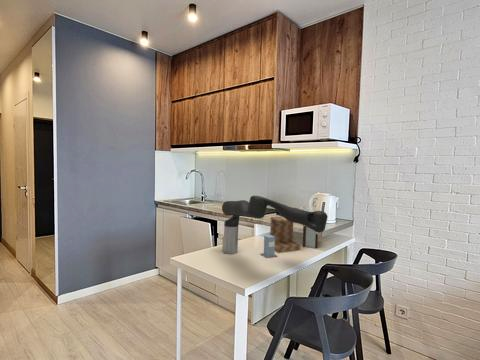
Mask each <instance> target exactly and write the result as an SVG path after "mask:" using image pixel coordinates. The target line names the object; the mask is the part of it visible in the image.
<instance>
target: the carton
mask: <svg viewBox="0 0 480 360" xmlns="http://www.w3.org/2000/svg"><path fill="white" fill-rule="evenodd" d="M263 237H264V238H263V253H264V255H266V256H274V255H276V251H275V237H274V236H272V235H270V234H266V235H265V234H264V236H263Z"/></svg>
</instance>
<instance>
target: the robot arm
mask: <svg viewBox="0 0 480 360" xmlns="http://www.w3.org/2000/svg"><path fill="white" fill-rule="evenodd" d="M268 206H269V207H271V208H274V209H275V210H274V213H275V215H276V216H278V217H284V218H285V219H287V220H288V221H291V222H293V224H294V223H295V224H298V225H301V226H303V225H304V226H307V227H309V228H310V229H312V230H314V231H316V232H318V234H319V233H323V232H325V229H326V226H327V221H328V214H327V213H326V212H325V211H322V210H314V211H309V210H304V209H302V208H298V207H293V206H292V207H291V206H288V205H286V204H284V203H281V202H277V201H275V200H272V199H269V198H268V197H263V196H259V195H251V196H250V197H249V200H243V199H241V200H227V201H226V200H225V201H224V202H223V203H222V204H221V211H222V213H223V215H225V216H231V217H230V218H228V219H226V220H225V221H224V227H223V236H222V244H221V246H222V249H221V251H222V252H223V253H224V254H227V255H228V254H231V255H232V254H237V253H238V252H239V251H238V249H239V248H238V247H239V223H240V217H248V218H251V219H263V218H264V217H265V215H266V212H267V208H268Z"/></svg>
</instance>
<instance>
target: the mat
mask: <svg viewBox="0 0 480 360" xmlns="http://www.w3.org/2000/svg"><path fill="white" fill-rule="evenodd" d="M260 255H261V256H262V257H264V258H265V259H272V258H278V255H276V254H275V255H274V256H266V255H264V252H262V253H260Z"/></svg>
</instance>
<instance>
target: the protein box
mask: <svg viewBox="0 0 480 360" xmlns="http://www.w3.org/2000/svg"><path fill="white" fill-rule="evenodd" d="M302 226H303V227H302V247H303V248H310V247H311V249H318V243H319V234H318V235H317V234H315V232H316V231H314V230H312V229H310V228H309V227H307V226H304V225H302Z"/></svg>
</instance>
